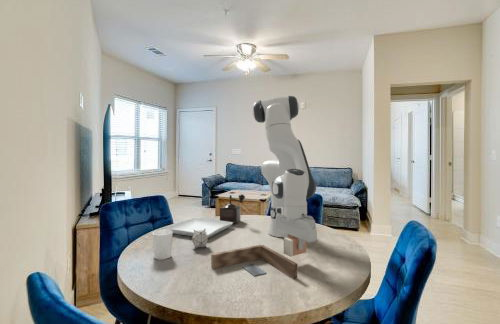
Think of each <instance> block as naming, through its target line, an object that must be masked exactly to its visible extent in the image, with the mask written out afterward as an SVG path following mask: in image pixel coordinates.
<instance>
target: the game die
mask: <svg viewBox="0 0 500 324" xmlns="http://www.w3.org/2000/svg"><path fill="white" fill-rule="evenodd" d="M205 230H206V229H204V230H201V231H195V230H194V231H195V232H194V234H193V236H191V238H190V239H189V240H190V241H191V242H192V243H193V245H194V248H193V249H194V250H195V249H197V248H205V249H207V243H208V241H209V239H210V238H211V236H210V237H208V235H207V234H206V232H205Z"/></svg>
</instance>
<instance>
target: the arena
mask: <svg viewBox="0 0 500 324" xmlns="http://www.w3.org/2000/svg"><path fill="white" fill-rule="evenodd" d="M210 256H211V257H210V258H211V259H210V260H211V261H210V264H211V265H210V266H211V269H217V268H219V269H220V268H222V267H229V266H232V265H237V264H242V263H246V262H251V261H255V260H263V261H265V262H266V263H267V264H269V265H270V266H272V267H274V269H275V268H276V269H277V270H278V271H280V272H282V273H283V274H285V275H287V276H288V277H289V278H291V279H292V280H295V279H298V263H297V262H296V261H293V260H292V259H290V258H288V257H286V256H284V255H282V254H281V253H279V252H277V251H276V250H274V249H271V248H270V247H268V246H266V245H265V244H257V245H252V246H246V247H242V248H236V249H231V250H225V251H219V252H215V253H213V252H212V253H210ZM241 268H243V269H244V270H245V271H246V272H247V273H249V274H250V275H251V276H253V277H258V276H261V275H262V276H263V275H266V274H267V272H266V271H264V269H261V268H260V267H259V266H258V265H256V264H255V263H249V264H245V265H242V266H241Z"/></svg>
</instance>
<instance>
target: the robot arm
mask: <svg viewBox="0 0 500 324" xmlns="http://www.w3.org/2000/svg"><path fill="white" fill-rule="evenodd" d="M299 110H300V103H299V101H298V100H297V97H296V96H293V95H288V96H276V97H270V98H267V99H263V100H261V99H260V100H257V101H254V103H253V106H252V109H251V112H252V116H253V119H254V120H255V121H256V122H257V123H261V124H262V123H265V136H266V140H267V142H268V149H269V152H271V153H272V154H274V155H275V157H276V159H268V160H265V161H264V162H263V163H262V165H261V168H260V171H261V175H262V176H263V177H264V178H265V179H266V181H267V183H268V185H269V190H270V194H271V197H270V198H271V205H270V210H269V211H270V212H269V213H270V222H269V227H268V231H267V234H268V235H269V236H273V237H277V238H285V237H290V236H294V237H297V238H299V241H300V242H299V244H297V249H299V250H302V249H303V244H304V242H305V241H306V243H309V244H310V243H315V242H317V240H318V234H317V233H318V230H317V226H316V220H315V219H314V217H313V216H311V215H308V201H307V200H310V199H311V198H312V197H313V196H314V195H315V193H316V191H317V184H316V181H315V179H314V176H313V174H312V172H311V168H310V166H309V162H308V158H307V156H306V154H305V150H304V147H303V144H302V142H301V141H300V139H298V138H297V137H296V136H295V134H294V132H293V129H292V125H291V121H292V119H294V118H296V117H297V116H298V115H299Z"/></svg>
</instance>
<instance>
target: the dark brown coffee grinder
mask: <svg viewBox="0 0 500 324" xmlns="http://www.w3.org/2000/svg"><path fill="white" fill-rule="evenodd" d="M245 198H246V196H245V194H239V195H238V199H236V198H232V194H230V195H229V203H228V204H225V205H223V206H221V207H219V220H220V221H227V222H233V223H232V225H237V224H239V223H240V222H241V205H236V204H233V203H232V201H234V202H239V203H240V204H241V203H244V200H245Z"/></svg>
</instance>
